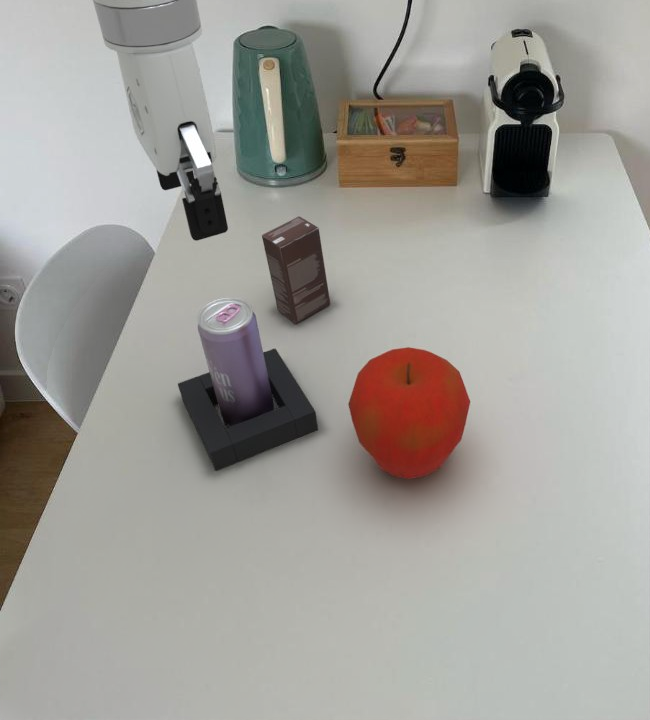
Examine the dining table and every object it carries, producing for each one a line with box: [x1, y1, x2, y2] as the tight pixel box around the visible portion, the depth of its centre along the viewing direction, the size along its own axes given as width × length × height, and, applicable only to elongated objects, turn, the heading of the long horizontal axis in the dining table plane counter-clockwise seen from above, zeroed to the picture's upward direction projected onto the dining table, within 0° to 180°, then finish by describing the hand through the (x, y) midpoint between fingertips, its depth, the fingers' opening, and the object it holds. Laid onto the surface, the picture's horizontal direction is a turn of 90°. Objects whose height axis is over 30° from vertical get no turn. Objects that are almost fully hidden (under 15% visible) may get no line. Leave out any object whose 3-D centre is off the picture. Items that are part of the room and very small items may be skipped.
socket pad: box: [177, 348, 319, 472], centre depth 92 cm, size 12×12×3 cm
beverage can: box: [197, 297, 275, 428], centre depth 88 cm, size 6×6×15 cm
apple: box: [347, 346, 471, 480], centre depth 82 cm, size 12×12×14 cm
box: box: [261, 216, 331, 324], centre depth 103 cm, size 6×4×12 cm
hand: (193, 209), depth 74 cm, fingers open, 9 cm apart
